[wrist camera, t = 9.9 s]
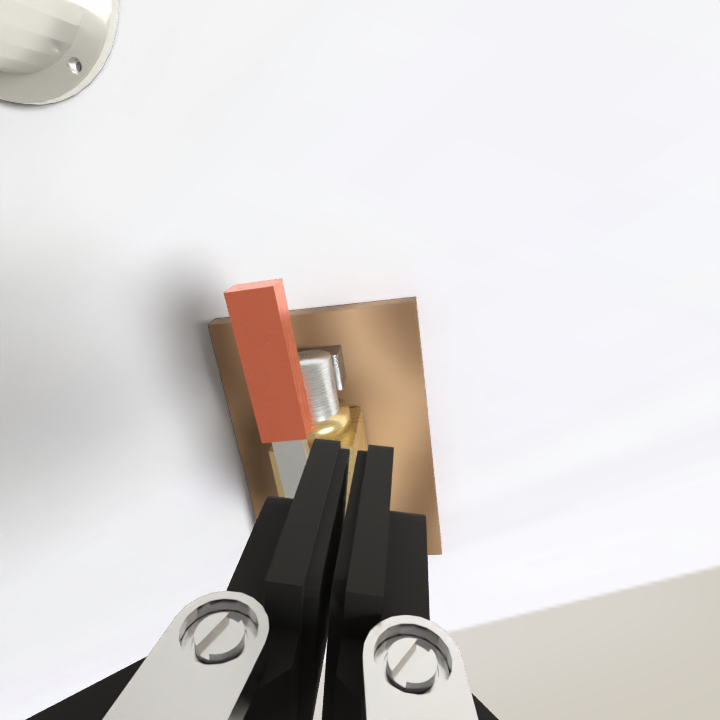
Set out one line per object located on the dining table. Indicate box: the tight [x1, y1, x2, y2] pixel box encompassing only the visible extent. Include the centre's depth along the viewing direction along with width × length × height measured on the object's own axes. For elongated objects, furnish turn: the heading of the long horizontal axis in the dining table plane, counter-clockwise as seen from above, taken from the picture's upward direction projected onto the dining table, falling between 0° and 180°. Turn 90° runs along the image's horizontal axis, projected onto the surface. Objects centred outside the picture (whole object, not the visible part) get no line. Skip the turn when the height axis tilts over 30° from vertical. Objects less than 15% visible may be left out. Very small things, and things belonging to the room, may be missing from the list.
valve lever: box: [224, 278, 313, 499], centre depth 27 cm, size 15×3×2 cm, turn 9°
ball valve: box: [269, 345, 368, 514], centre depth 34 cm, size 5×16×8 cm, turn 8°
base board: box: [208, 297, 442, 555], centre depth 38 cm, size 14×20×2 cm
